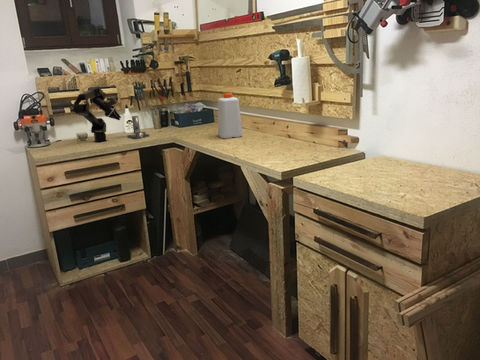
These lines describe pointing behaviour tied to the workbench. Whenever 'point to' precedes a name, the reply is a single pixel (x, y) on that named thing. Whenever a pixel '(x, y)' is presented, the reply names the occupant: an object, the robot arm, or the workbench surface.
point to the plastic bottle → (229, 117)
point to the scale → (138, 135)
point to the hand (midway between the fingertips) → (120, 118)
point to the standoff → (136, 124)
